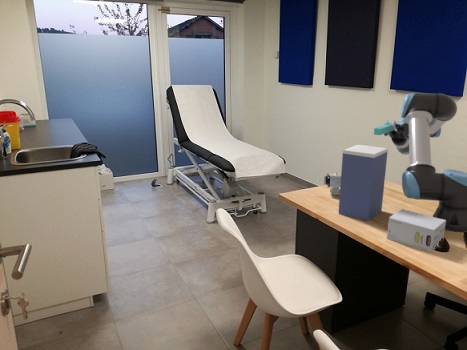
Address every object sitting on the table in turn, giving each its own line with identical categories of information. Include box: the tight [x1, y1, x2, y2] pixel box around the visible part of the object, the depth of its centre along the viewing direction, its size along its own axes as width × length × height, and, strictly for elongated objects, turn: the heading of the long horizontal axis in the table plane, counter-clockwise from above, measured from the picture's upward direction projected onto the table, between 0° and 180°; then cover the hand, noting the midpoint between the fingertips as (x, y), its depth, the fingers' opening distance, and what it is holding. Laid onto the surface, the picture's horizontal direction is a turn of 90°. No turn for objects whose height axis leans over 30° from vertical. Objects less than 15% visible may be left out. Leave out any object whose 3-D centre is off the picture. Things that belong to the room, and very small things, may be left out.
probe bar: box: [373, 122, 398, 136], centre depth 190 cm, size 24×3×3 cm, turn 140°
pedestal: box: [338, 144, 389, 222], centre depth 176 cm, size 16×14×30 cm
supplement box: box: [386, 208, 446, 253], centre depth 150 cm, size 17×13×9 cm
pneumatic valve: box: [323, 172, 341, 196], centre depth 203 cm, size 6×12×12 cm, turn 88°
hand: (389, 122), depth 192 cm, fingers closed on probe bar, 3 cm apart
